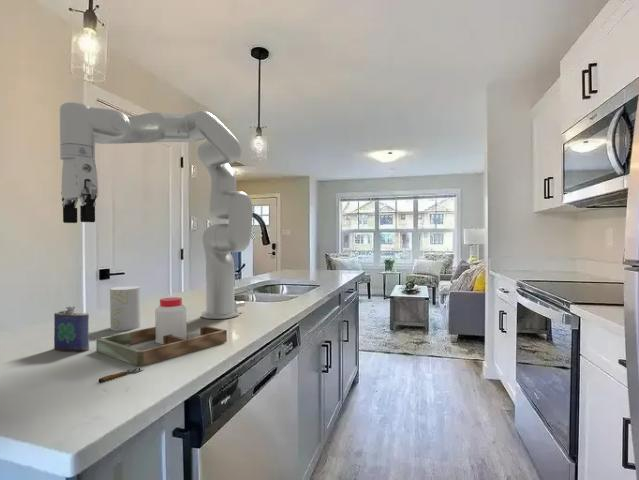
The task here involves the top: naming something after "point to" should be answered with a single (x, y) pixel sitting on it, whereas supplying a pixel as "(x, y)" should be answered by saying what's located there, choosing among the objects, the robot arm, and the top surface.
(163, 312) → the pill bottle
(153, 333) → the wooden frame
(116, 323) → the cup
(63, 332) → the flask
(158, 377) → the top surface
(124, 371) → the can opener
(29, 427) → the top surface
